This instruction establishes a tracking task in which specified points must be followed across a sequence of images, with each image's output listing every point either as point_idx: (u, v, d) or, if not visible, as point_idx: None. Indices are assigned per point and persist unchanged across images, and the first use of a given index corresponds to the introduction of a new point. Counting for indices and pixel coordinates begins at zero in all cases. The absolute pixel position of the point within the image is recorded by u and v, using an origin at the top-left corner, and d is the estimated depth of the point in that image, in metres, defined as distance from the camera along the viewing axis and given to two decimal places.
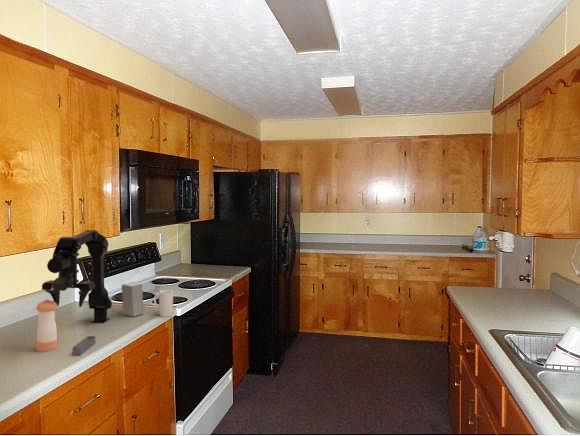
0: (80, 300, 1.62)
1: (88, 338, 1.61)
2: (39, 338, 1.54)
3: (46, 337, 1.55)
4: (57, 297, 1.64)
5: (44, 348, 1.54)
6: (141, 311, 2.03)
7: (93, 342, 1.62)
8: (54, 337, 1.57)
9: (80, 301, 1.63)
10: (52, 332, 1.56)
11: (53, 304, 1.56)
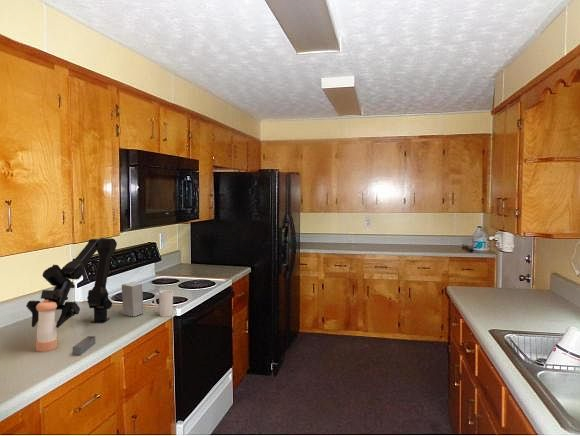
0: (60, 319, 1.57)
1: (88, 338, 1.61)
2: (39, 338, 1.54)
3: (46, 337, 1.55)
4: (36, 317, 1.59)
5: (44, 348, 1.54)
6: (141, 311, 2.03)
7: (93, 342, 1.62)
8: (54, 337, 1.57)
9: (59, 320, 1.57)
10: (52, 332, 1.56)
11: (53, 304, 1.56)
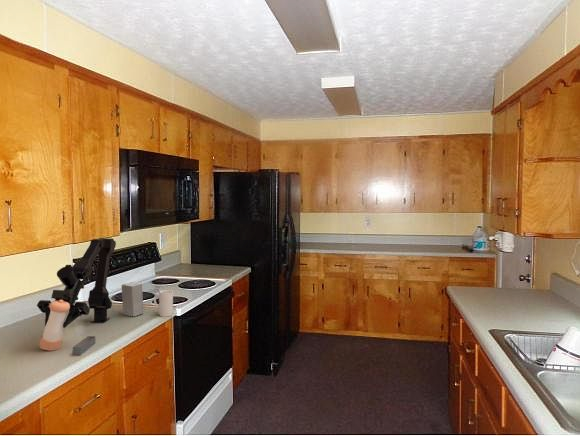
0: (67, 319, 1.57)
1: (88, 338, 1.61)
2: (45, 336, 1.54)
3: (52, 337, 1.55)
4: None
5: (48, 347, 1.54)
6: (141, 311, 2.03)
7: (93, 342, 1.62)
8: (60, 337, 1.57)
9: (66, 320, 1.57)
10: (59, 333, 1.56)
11: (66, 306, 1.56)
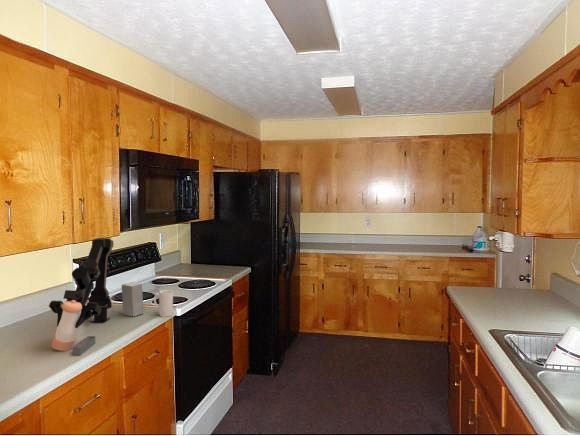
0: (79, 319, 1.57)
1: (88, 338, 1.61)
2: (58, 336, 1.54)
3: (65, 337, 1.55)
4: None
5: (60, 347, 1.55)
6: (141, 311, 2.03)
7: (93, 342, 1.62)
8: (72, 338, 1.57)
9: (78, 320, 1.57)
10: (71, 333, 1.56)
11: (79, 306, 1.56)
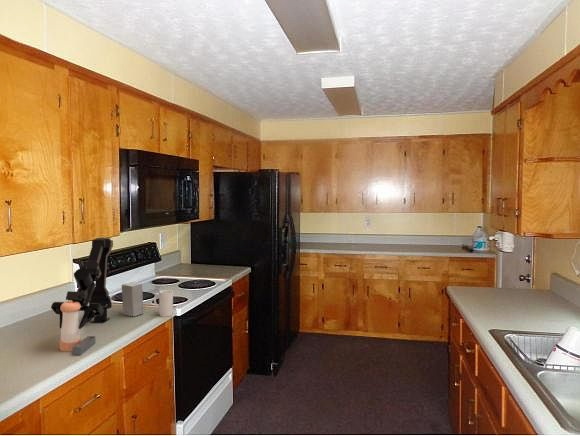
0: (82, 320, 1.57)
1: (88, 338, 1.61)
2: (63, 338, 1.55)
3: (70, 337, 1.55)
4: None
5: (68, 348, 1.55)
6: (141, 311, 2.03)
7: (93, 342, 1.62)
8: (78, 337, 1.58)
9: (82, 321, 1.57)
10: (76, 332, 1.56)
11: (77, 305, 1.56)
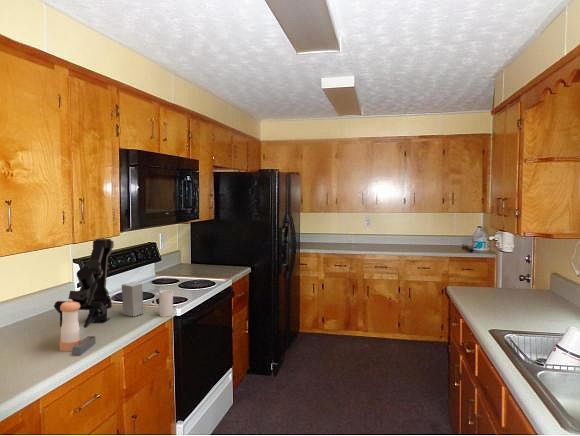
0: (87, 319, 1.59)
1: (88, 338, 1.61)
2: (63, 338, 1.55)
3: (70, 337, 1.56)
4: None
5: (68, 348, 1.55)
6: (141, 311, 2.03)
7: (93, 342, 1.62)
8: (77, 337, 1.58)
9: (87, 320, 1.59)
10: (76, 332, 1.57)
11: (77, 304, 1.57)
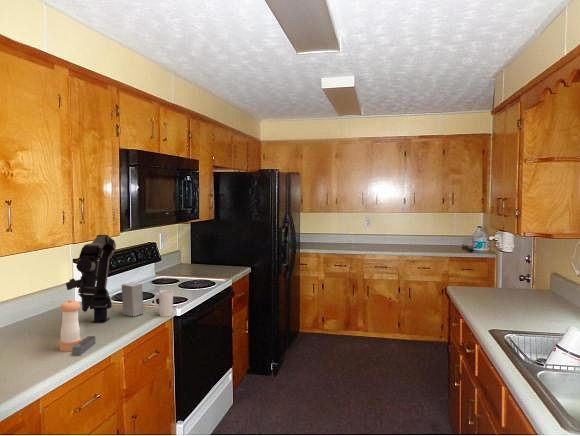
0: (83, 304, 1.67)
1: (88, 338, 1.61)
2: (63, 338, 1.55)
3: (70, 337, 1.56)
4: None
5: (68, 348, 1.55)
6: (141, 311, 2.03)
7: (93, 342, 1.62)
8: (77, 337, 1.58)
9: (83, 305, 1.67)
10: (76, 332, 1.57)
11: (77, 304, 1.57)
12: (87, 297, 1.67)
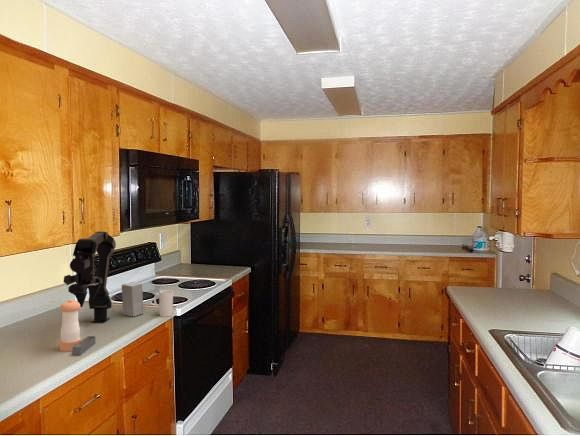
0: None
1: (88, 338, 1.61)
2: (63, 338, 1.55)
3: (70, 337, 1.56)
4: (91, 292, 1.79)
5: (68, 348, 1.55)
6: (141, 311, 2.03)
7: (93, 342, 1.62)
8: (77, 337, 1.58)
9: None
10: (76, 332, 1.57)
11: (77, 304, 1.57)
12: (79, 294, 1.68)
